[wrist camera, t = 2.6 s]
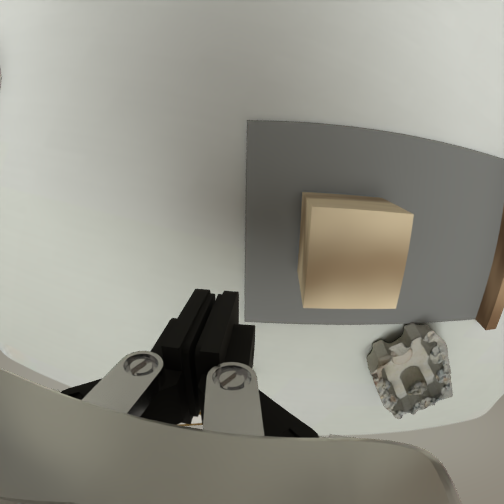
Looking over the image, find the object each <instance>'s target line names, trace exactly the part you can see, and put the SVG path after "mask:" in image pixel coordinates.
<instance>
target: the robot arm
mask: <svg viewBox="0 0 504 504" xmlns="http://www.w3.org/2000/svg"><path fill="white" fill-rule="evenodd" d="M254 345H255V325H242V324H239V293H238V292H232V291H224V292H223V294H218V296H217V298H216V301H215V294H211V293H210V290H204V289H195V290H194V292H193V294H192V295H191V297H190V299H189V300H188V302H187V304H186V305H185V307H184V309H183V310H182V312H181V313H180V315H179V317H178V318H177V319H176V318H172V319H171V320H170V321H169V323H168V324H167V326H166V328H165V329H164V331H163V332H162V334H161V336H160V337H159V339H158V340H157V342H156V344H155V345H154V347H153V348H152V350H151V352H149V351H137V352H132V353H130V354H128V355H126V356H125V357H123V358H122V359H121V360H120V361H119V362H118V363H117V364H116V365H115V366H114V367H113V368H112V369H111V370H110V371H109V372H108V373H107V374H106V375H105V377H104V378H102V379H99V380H96V381H92V382H89V383H86V384H82V385H79V386H75V387H72V388H68V389H66V390H63V391H62V392H60V391H59V390H56V389H50V388H47V387H45V386H42V385H40V384H37V383H35V382H32V381H30V380H28V379H25V378H23V377H21V376H18V375H16V374H13V373H11V372H9V371H6V370H4V369H2V368H0V504H462V503H461V500H460V498H459V495H458V492H457V490H456V488H455V485H454V483H453V481H452V479H451V477H450V476H449V474H448V472H447V470H446V469H445V467H444V466H443V464H442V463H441V462H440V461H439V460H438V459H437V458H436V457H435V456H434V455H433V454H432V453H430V452H428V451H427V450H425V449H422V448H419V447H417V446H413V445H409V444H405V443H400V442H395V441H389V440H379V439H366V438H356V437H347V436H339V435H332V434H330V435H329V437H322V436H318V434H317V433H316V432H315V431H314V430H313V429H312V428H310V427H309V426H307V425H306V424H305V423H303V422H302V421H300V420H299V419H297V418H296V417H295V416H293V415H292V414H290V413H289V412H288V411H286V410H285V409H284V408H282V407H281V406H280V405H278V404H277V403H276V402H274V401H273V400H272V399H270V398H269V397H268V396H266V395H265V394H264V393H262V392H261V391H260V390H259V389H258V381H257V376H256V373H255V371H254V370H253V369H252V367H253V358H254ZM200 412H201V419H202V425H203V429H197V428H191V427H185V426H179V425H177V424H180V423H185V424H190V425H191V422H192V419H193V416H194V417H198V416H199V413H200Z"/></svg>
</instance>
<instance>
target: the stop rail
mask: <svg viewBox="0 0 504 504" xmlns="http://www.w3.org/2000/svg"><path fill="white" fill-rule="evenodd" d="M503 308H504V206H503V213H502V219H501V225H500V231H499V236H498V241H497V246H496V250H495V255H494V259H493V263H492V267H491V271H490V274H489V278H488V282H487V285H486V288H485V292H484V295H483V298H482V301H481V304H480V307H479V310H478V313H477V316H476V320H477V321H478V322H479V323H480V325H481V326H482V327H483V328H484V329H485V330H490V329H496V327H497V324H498V322H499V319H500V316H501V314H502V311H503Z"/></svg>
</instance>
